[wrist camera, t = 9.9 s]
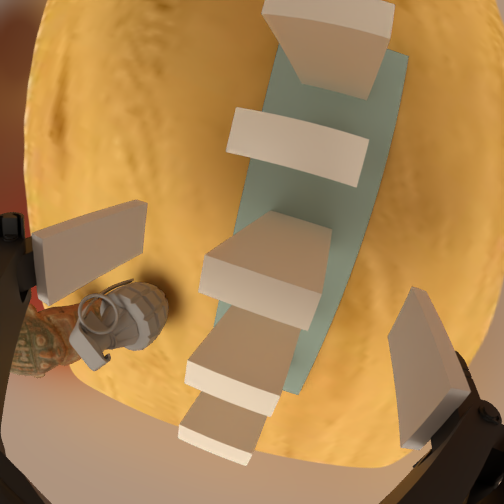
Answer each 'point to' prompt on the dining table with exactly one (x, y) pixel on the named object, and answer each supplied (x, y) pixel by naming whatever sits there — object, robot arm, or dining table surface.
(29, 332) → the figurine
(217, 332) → the domino
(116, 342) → the hand grenade
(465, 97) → the dining table surface
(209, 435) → the domino
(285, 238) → the domino
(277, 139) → the domino
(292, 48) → the domino
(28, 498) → the robot arm
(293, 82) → the strip
